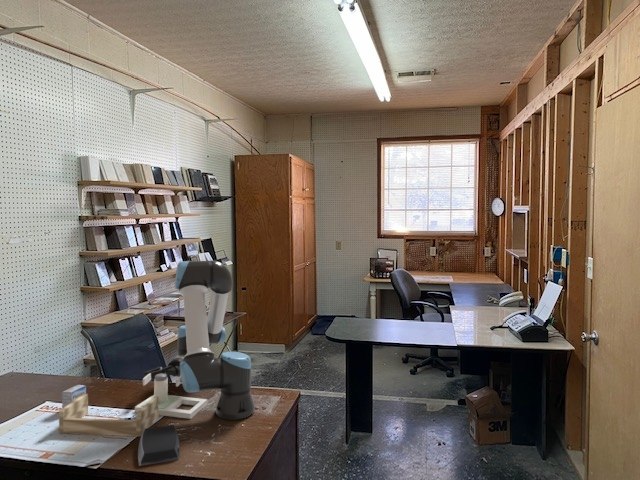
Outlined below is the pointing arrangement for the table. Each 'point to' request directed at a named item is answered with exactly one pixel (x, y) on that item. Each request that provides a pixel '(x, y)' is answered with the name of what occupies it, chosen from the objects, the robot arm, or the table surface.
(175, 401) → the hole board
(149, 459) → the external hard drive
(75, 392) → the medicine box
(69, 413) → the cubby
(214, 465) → the table surface
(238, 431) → the table surface
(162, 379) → the cream bottle
